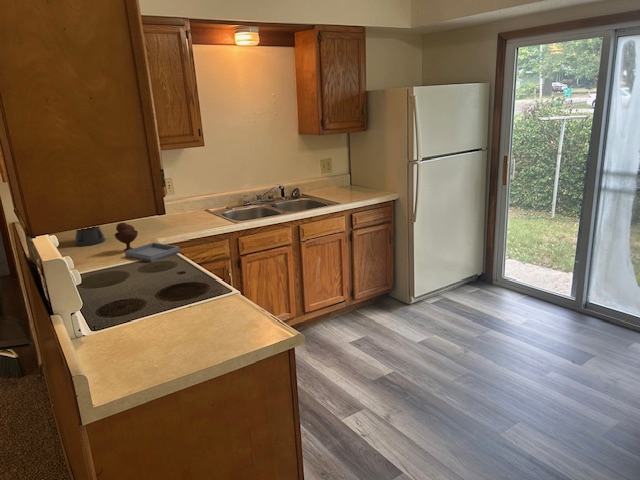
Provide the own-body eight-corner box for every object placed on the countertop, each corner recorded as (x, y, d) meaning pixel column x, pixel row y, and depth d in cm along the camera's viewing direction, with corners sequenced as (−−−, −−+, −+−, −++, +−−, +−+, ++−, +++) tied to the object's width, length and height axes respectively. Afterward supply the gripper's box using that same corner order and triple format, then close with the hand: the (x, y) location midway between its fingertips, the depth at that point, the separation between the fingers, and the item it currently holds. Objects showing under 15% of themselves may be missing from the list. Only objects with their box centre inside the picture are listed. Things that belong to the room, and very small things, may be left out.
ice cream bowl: (132, 253, 240) (128, 224, 237) (113, 253, 243) (108, 224, 239) (144, 247, 250) (140, 219, 247) (125, 247, 253) (120, 219, 249)
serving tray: (125, 256, 235) (124, 251, 235) (154, 247, 249) (153, 242, 248) (151, 262, 224) (150, 256, 224) (180, 252, 238) (179, 246, 237)
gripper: (90, 160, 214) (98, 207, 219) (146, 155, 228) (152, 198, 234) (86, 159, 219) (94, 205, 225) (140, 154, 234) (147, 197, 240)
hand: (123, 202), depth 230 cm, fingers open, 13 cm apart
